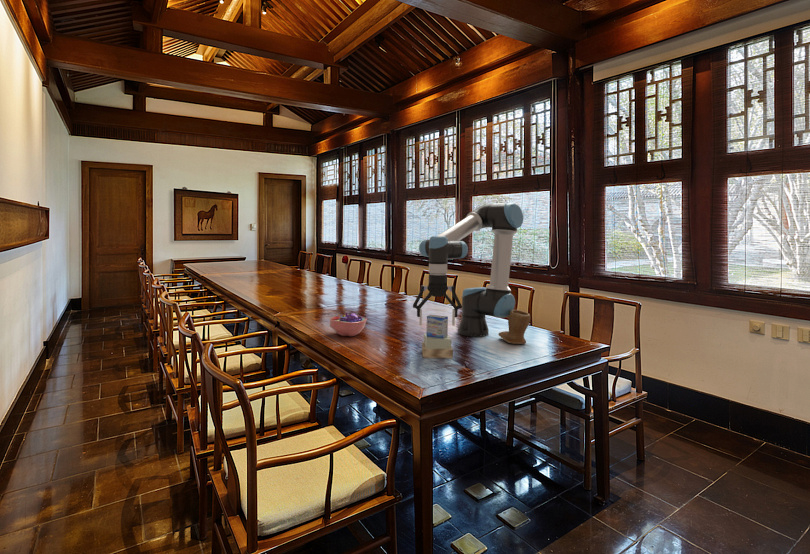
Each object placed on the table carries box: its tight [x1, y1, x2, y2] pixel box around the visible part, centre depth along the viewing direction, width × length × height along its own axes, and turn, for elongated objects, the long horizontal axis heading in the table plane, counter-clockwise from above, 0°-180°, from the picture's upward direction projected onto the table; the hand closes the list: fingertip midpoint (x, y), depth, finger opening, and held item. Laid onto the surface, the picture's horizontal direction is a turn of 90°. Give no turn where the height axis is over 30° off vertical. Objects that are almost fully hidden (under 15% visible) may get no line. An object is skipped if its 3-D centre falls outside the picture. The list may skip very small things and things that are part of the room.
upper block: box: [423, 333, 452, 349], centre depth 188 cm, size 10×10×4 cm
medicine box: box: [425, 314, 449, 338], centre depth 187 cm, size 8×4×9 cm, turn 62°
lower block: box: [421, 341, 454, 359], centre depth 188 cm, size 12×12×4 cm
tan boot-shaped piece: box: [498, 309, 531, 345], centre depth 209 cm, size 15×12×15 cm
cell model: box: [329, 312, 368, 337], centre depth 219 cm, size 17×20×11 cm
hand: (436, 325), depth 187 cm, fingers open, 13 cm apart
